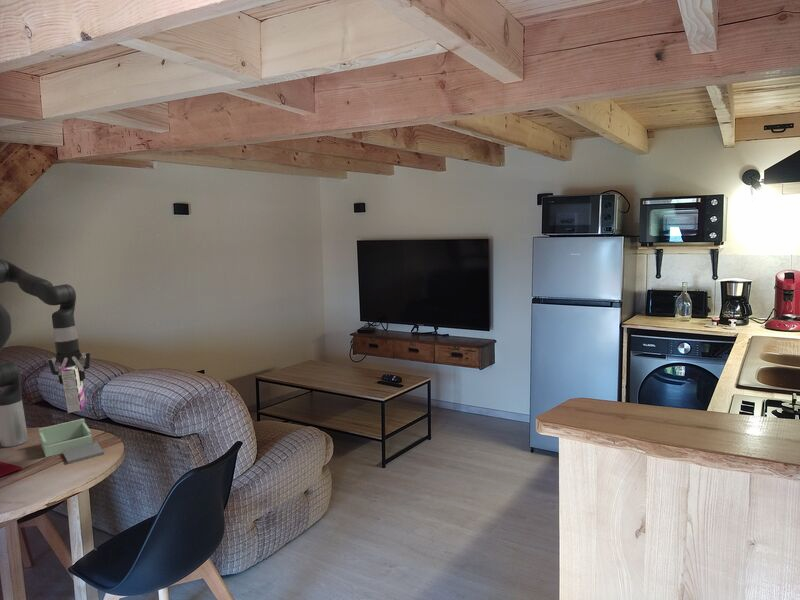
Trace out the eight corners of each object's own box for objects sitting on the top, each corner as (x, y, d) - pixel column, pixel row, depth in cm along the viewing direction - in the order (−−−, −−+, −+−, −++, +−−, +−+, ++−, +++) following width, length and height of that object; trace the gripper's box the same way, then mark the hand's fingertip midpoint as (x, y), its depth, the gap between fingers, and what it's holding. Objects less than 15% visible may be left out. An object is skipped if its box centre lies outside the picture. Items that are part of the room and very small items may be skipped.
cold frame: (41, 445, 225) (38, 428, 224) (86, 434, 235) (83, 418, 234) (46, 457, 213) (43, 439, 212) (93, 445, 223) (90, 428, 222)
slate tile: (63, 453, 216) (62, 451, 216) (97, 444, 223) (97, 442, 223) (68, 463, 207) (67, 461, 206) (104, 454, 214) (103, 451, 214)
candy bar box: (71, 405, 217) (65, 363, 214) (86, 402, 219) (80, 361, 216) (66, 413, 206) (59, 370, 204) (81, 411, 208) (75, 368, 206)
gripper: (86, 334, 216) (92, 376, 218) (42, 340, 207) (49, 385, 210) (89, 336, 210) (95, 380, 212) (44, 343, 201) (51, 389, 204)
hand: (72, 382), depth 211 cm, fingers closed on candy bar box, 5 cm apart
